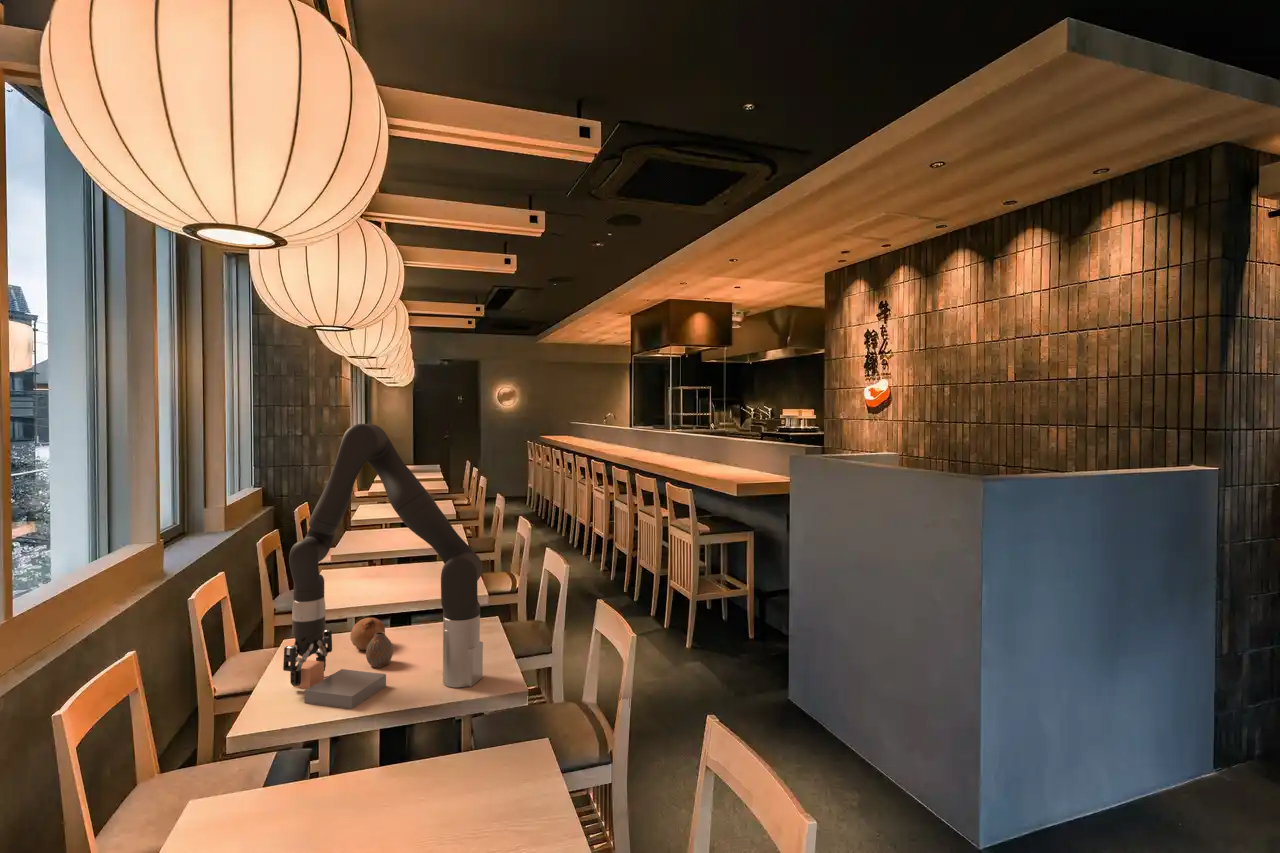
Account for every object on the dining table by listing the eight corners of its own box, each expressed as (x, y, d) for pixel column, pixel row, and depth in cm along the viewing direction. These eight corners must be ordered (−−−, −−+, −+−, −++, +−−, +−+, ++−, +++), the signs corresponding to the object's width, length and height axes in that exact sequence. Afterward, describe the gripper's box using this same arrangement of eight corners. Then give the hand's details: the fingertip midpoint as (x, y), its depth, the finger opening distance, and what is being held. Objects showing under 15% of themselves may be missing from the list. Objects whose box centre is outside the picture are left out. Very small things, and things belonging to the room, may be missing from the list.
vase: (397, 660, 175) (397, 629, 174) (385, 670, 168) (385, 638, 168) (374, 659, 175) (374, 628, 175) (360, 669, 168) (361, 637, 168)
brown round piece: (373, 661, 181) (378, 635, 177) (342, 652, 181) (346, 626, 177) (388, 639, 190) (392, 614, 186) (358, 630, 190) (362, 605, 186)
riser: (386, 685, 158) (386, 674, 158) (351, 709, 145) (352, 696, 145) (341, 680, 161) (341, 669, 161) (304, 702, 148) (304, 690, 148)
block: (324, 680, 161) (324, 661, 161) (309, 688, 156) (309, 669, 156) (307, 678, 162) (307, 659, 162) (292, 686, 157) (292, 667, 157)
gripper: (300, 625, 151) (300, 691, 151) (340, 608, 165) (340, 668, 165) (274, 623, 153) (274, 688, 153) (316, 606, 167) (316, 666, 167)
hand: (308, 678), depth 159 cm, fingers open, 8 cm apart
